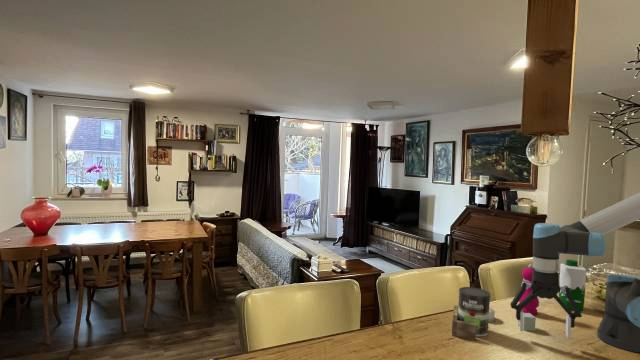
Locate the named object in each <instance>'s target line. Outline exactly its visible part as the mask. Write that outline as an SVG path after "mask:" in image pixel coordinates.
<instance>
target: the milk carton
mask: <svg viewBox="0 0 640 360" xmlns="http://www.w3.org/2000/svg"><path fill="white" fill-rule="evenodd" d="M565 261H566V262H565V263H560V266H559V287H564V286H568V287H569V288H570V292H571V296H572V298H573V300H574V302H575V304H576V305H577V307H578V309H579V311H580V313H581V312H582V313H583V312H584V308H585V296H586V281H587V280H586V279H587V269H586V268H585V267H584V266H582V265H579V264H578V263H579V262H578V261H577V260H574V259H566V260H565ZM558 297H559V298H560V299H561V300H562V301H563V303H564V304H565V305H566V306H567V307H568V308H569V309H570V311H571V312H572V311H573V312H574V310H573V308H572V306H571V304H570V302H569V300H568V298H567V296H566V294H564V293H563V292H562V291H561V290H560V292H559V293H558Z"/></svg>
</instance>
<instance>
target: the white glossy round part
mask: <svg viewBox="0 0 640 360" xmlns="http://www.w3.org/2000/svg"><path fill="white" fill-rule="evenodd" d="M492 322H495V310H494V309H493V308H490V307H489V320H488V323H492Z"/></svg>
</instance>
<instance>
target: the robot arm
mask: <svg viewBox="0 0 640 360" xmlns="http://www.w3.org/2000/svg"><path fill="white" fill-rule="evenodd" d="M639 220H640V192H638V193H635V194H633V195H632V196H629V197H627V198H624V199H623V200H621V201H619V202H616V203H614V204H613V205H610V206H607V207H605V208H603V209H601V210H599V211H596V212H595V213H593V214H591V215H589V216H586V217H584V218H582V219H580V220H578V221H576V222H573V223H571V224H565V225H559V224H556V223H548V222H538V223H535V224H534V227H533V234H532V265H533V268H534V269H533V270H532V283H526V282H525V281H523V280H522V281H521V284H520V288H519V289H518V291H517V292H516V294H515V296H514V297H513V298H512V301H511V302H510V304H509V305H510V307H511V309H514V310H515V318H516V320H519V326H518V328H519V331H520V332H523V331H524V330H523V310H522V309H523V308H524V307H525V306H526V305H528V304H529V303H530V302H531V301H532V300H533V299H535V298H536V297H538V298H540V299H548V300H551V299H554V300H555V301H556V302H557V303H558V304H559V305H560V307H561V308H562V309H563V310H564V311H565V312H566V313H567V315H566V316H565V336H566V337H567V339H571V336H572V335H571V329H572V328H573V329H574V328H575V320H576V318H582V317H583V315H582V313H581V312H580V311H579V309H578V307H577V305H576V304H575V302H574V300H573V298H572V296H571V292H570V288H569V287H568V286H564V287H559V283H560V254H563V255H565V254H566V255H577V256H585V257H586V256H587V257H588V256H589V257H601V256H603V255H604V254H605V252H606V247H607V246H606V245H607V244H606V239H605V235H607V234H609V233H611V232H613V231H616V230H619V229H621V228H623V227H625V226H628V225H631V224H633V223H634V222H637V221H639ZM529 287H531V288H532V289H533V291H532V292H531V293H530V294H529V295H528V296H527V297H526V298H525V299H524V300H522V301H521V302H520V303H519V300H520V299H521V297H522V296H523V294H524V292H525V290H526V289H528V288H529ZM560 290H561V291H562V292H563V293H564V294H566V296H567V298H568V300H569V302H570V304H571V306H572V308H573V310H574V311H573V312H572V310H570V309H569V308H568V307H567V306H566V305H565V304H564V303H563V301H562V300H561V299H560V298H559V292H560ZM604 298H605V303H604V315H603V317H602V320H600V323H599V325H598V327H597V329H596V336H597V338H598V339H599V340H601V341H602V342H603V343H606V344H608V345H610V346H612V347H615V348H618V349H622V350H625V351H630V352H635V353H640V275H638V276H635V275H631V274H622V273H621V274H620V273H609V274H608V275H607V277H606V281H605V297H604Z"/></svg>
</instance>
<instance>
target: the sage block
mask: <svg viewBox="0 0 640 360" xmlns="http://www.w3.org/2000/svg"><path fill="white" fill-rule="evenodd" d="M536 319H537V318H536V317H535V315H534V316H533V315H531V314H530V313H523V331H524V332H525V331H526V332H535V331H536ZM517 327H519V320H518V322H517Z"/></svg>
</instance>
